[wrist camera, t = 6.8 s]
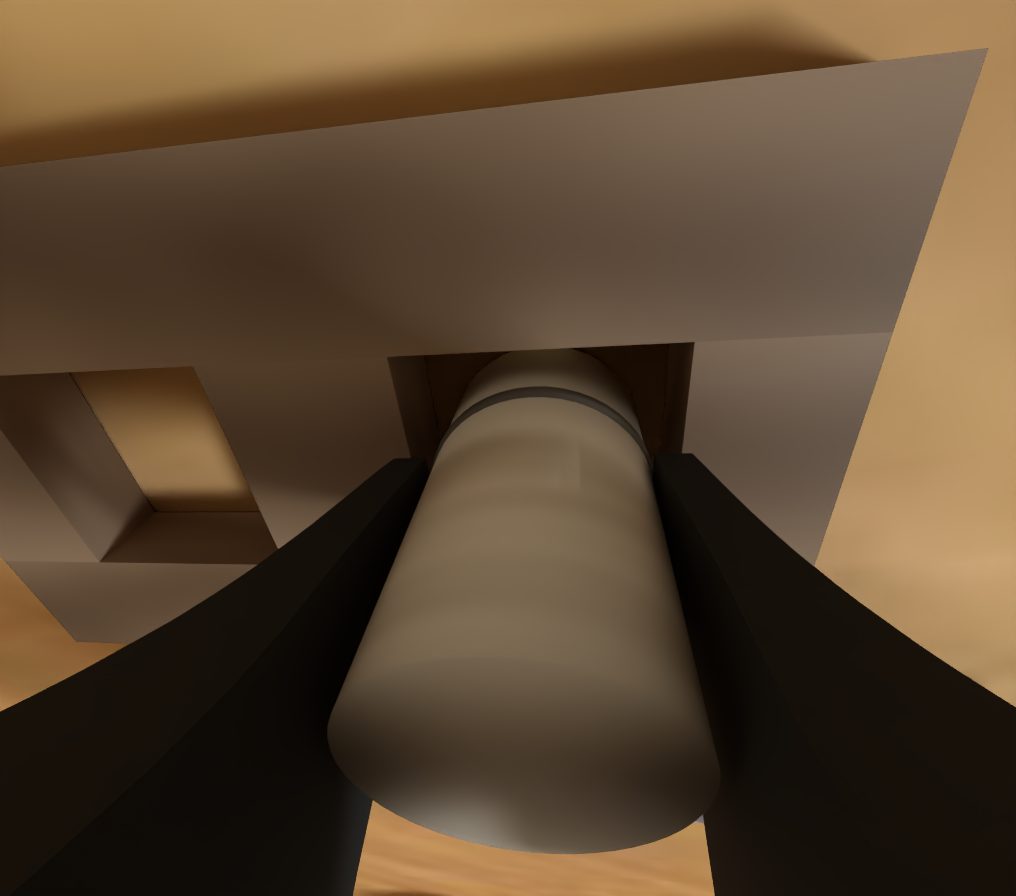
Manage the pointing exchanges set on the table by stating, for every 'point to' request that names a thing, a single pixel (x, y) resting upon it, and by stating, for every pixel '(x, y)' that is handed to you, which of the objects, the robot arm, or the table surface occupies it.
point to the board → (456, 301)
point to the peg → (533, 631)
